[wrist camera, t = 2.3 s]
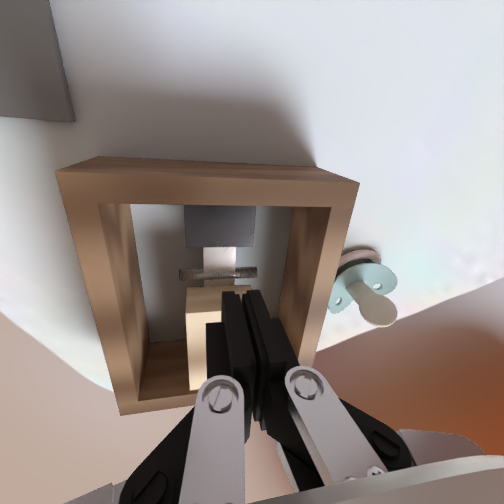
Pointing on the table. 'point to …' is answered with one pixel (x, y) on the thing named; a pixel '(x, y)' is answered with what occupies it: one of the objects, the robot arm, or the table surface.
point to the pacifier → (365, 288)
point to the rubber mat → (31, 63)
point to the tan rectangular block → (203, 325)
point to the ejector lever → (219, 242)
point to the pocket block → (195, 193)
